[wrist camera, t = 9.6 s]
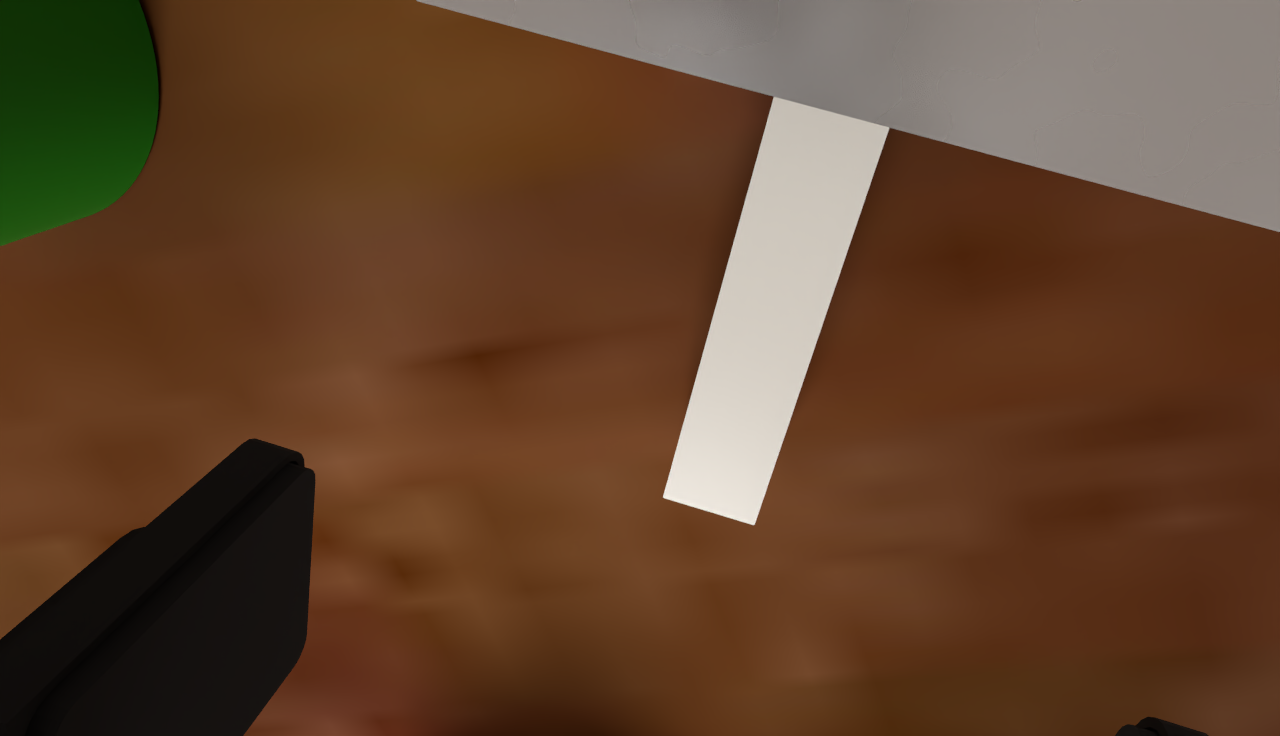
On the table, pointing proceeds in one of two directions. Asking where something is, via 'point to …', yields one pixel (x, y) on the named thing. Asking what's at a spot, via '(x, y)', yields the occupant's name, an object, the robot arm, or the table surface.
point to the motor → (71, 109)
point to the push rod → (772, 304)
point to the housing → (991, 77)
